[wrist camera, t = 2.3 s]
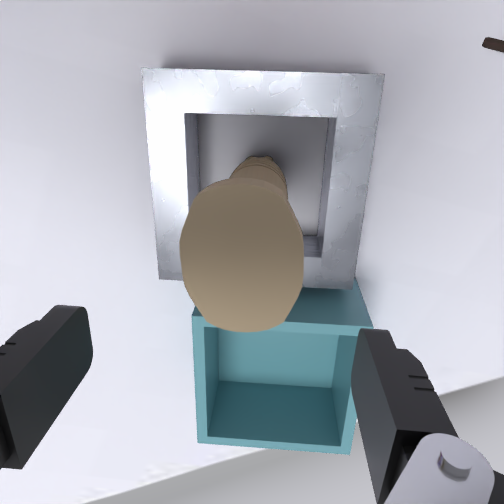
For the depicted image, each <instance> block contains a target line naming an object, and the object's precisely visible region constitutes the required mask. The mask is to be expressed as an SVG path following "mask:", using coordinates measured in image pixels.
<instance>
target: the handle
mask: <svg viewBox="0 0 504 504" xmlns="http://www.w3.org/2000/svg"><path fill="white" fill-rule="evenodd" d="M179 249H180V261H181V268H182V276H183V280H184V284H185V288H186V290H187V292H188V294H189V296H190V298H191V299H192V301H193V302H194V304H195V305H196V307H197V308H198V310H199V311H200V313H201V314H202V316H203V317H204V319H205V320H206V321H207V322H208V323H210V324H212V325H214V326H216V327H219V328H221V329H224V330H229V331H233V332H258V331H263V330H268V329H271V328H273V327H276V326H278V325H279V324H281V323H283V322H284V321H285V319H286V317H287V316H288V314H289V312H290V311H291V309H292V307H293V305H294V304H295V302H296V300H297V298H298V296H299V293H300V291H301V288H302V284H303V276H304V243H303V235H302V230H301V228H300V225H299V223H298V220H297V218H296V216H295V214H294V212H293V210H292V208H291V206H290V204H289V202H288V194H287V185H286V181H285V177H284V175H283V173H282V171H281V169H280V168H279V167H278V165H277V164H275V163H274V162H273V158H271V157H269V156H265V157H254V156H250V157H248V158H247V159H246V160H245V161H244V162H243V163H241V164H240V165H239V166H238V167H237V168H236V169H235V170H234V172H233V173H232V175H231V176H230V178H229V179H225V180H222V181H218V182H215V183H213V184H211V185H209V186H207V187H206V188H205V189H203V190H202V191H201V192H199V193H198V194H197V195H196V197H195V198H194V200H193V202H192V205H191V207H190V210H189V213H188V215H187V218H186V220H185V223H184V226H183V229H182V232H181V237H180V241H179Z"/></svg>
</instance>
